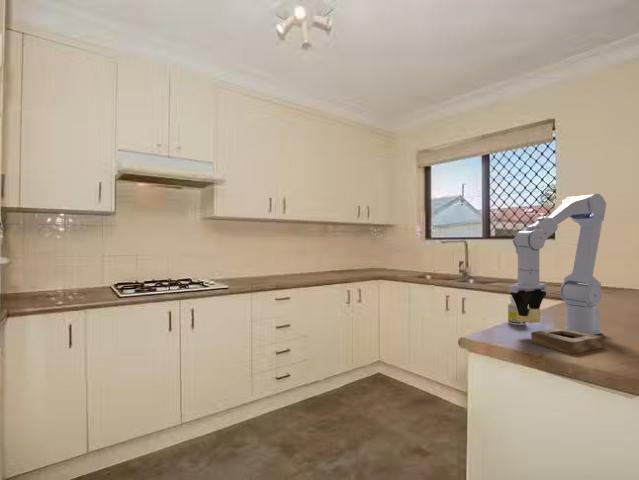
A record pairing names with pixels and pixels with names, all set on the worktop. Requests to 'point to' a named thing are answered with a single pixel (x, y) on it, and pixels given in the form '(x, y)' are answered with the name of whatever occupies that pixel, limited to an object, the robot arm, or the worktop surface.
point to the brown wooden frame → (567, 340)
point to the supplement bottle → (513, 313)
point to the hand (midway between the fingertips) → (528, 314)
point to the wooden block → (529, 315)
